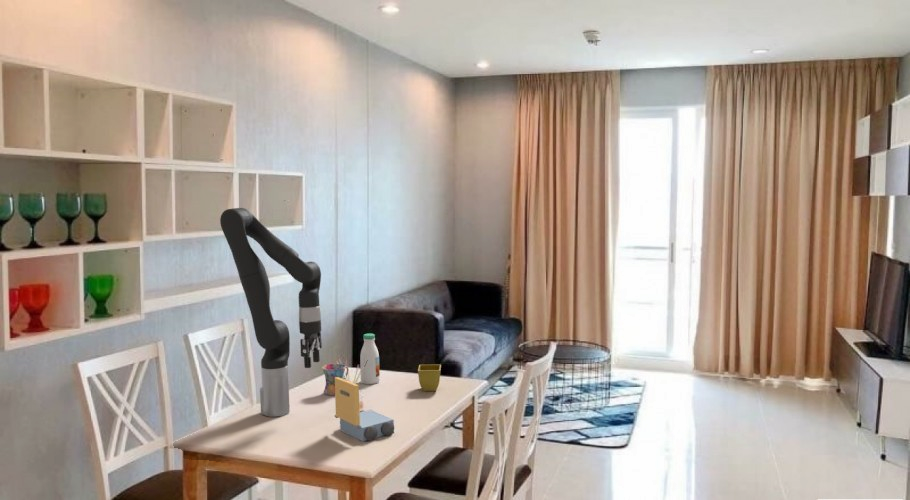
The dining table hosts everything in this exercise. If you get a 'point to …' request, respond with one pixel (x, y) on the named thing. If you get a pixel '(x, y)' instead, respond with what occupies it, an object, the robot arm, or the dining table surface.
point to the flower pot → (429, 377)
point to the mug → (333, 376)
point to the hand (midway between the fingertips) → (312, 364)
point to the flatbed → (369, 426)
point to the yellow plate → (347, 401)
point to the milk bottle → (369, 361)
